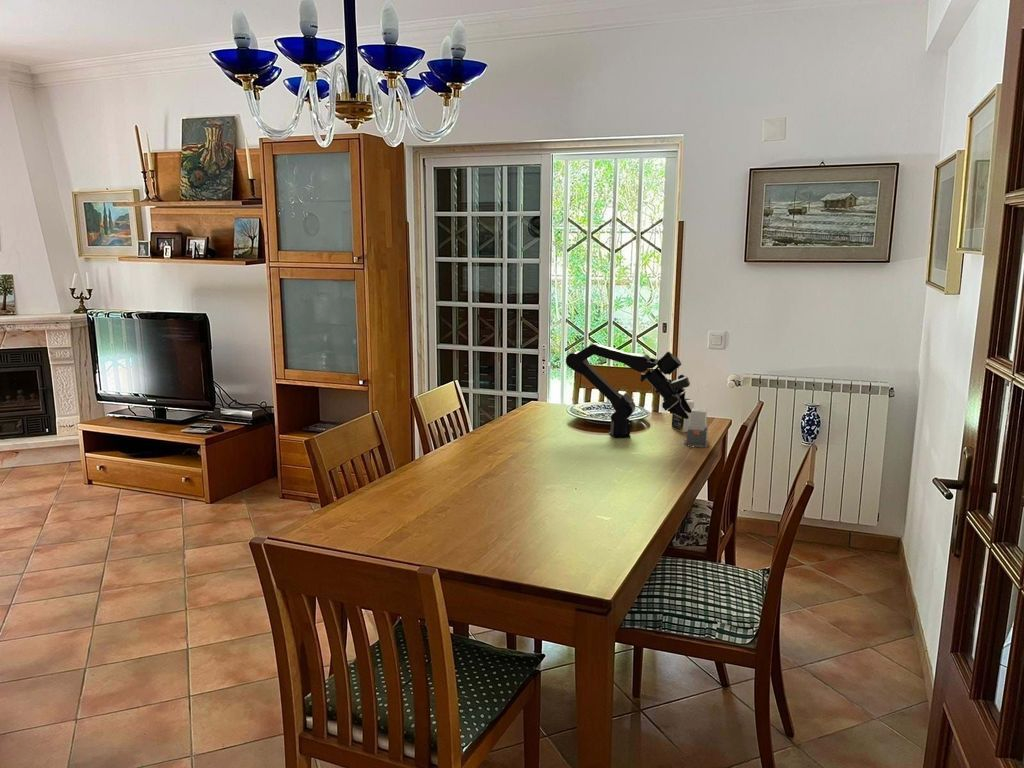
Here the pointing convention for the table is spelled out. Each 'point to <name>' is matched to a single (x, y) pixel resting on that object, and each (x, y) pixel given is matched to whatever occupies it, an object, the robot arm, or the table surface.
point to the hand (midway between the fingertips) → (689, 415)
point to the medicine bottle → (682, 419)
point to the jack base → (697, 438)
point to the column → (698, 419)
